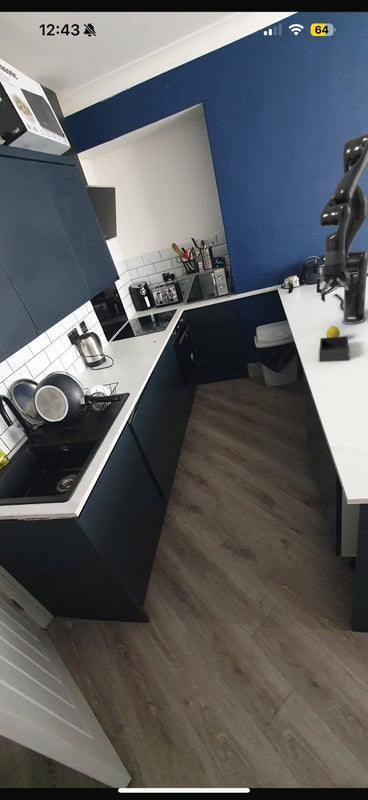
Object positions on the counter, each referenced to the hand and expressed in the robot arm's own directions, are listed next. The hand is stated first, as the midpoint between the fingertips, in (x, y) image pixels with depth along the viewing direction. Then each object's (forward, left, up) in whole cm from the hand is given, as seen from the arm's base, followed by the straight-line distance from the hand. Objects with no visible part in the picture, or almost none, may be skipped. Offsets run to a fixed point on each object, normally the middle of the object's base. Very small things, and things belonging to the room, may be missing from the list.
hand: (334, 299), depth 135 cm
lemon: (+1, -1, -20) cm, 20 cm away
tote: (+13, 0, -20) cm, 23 cm away
